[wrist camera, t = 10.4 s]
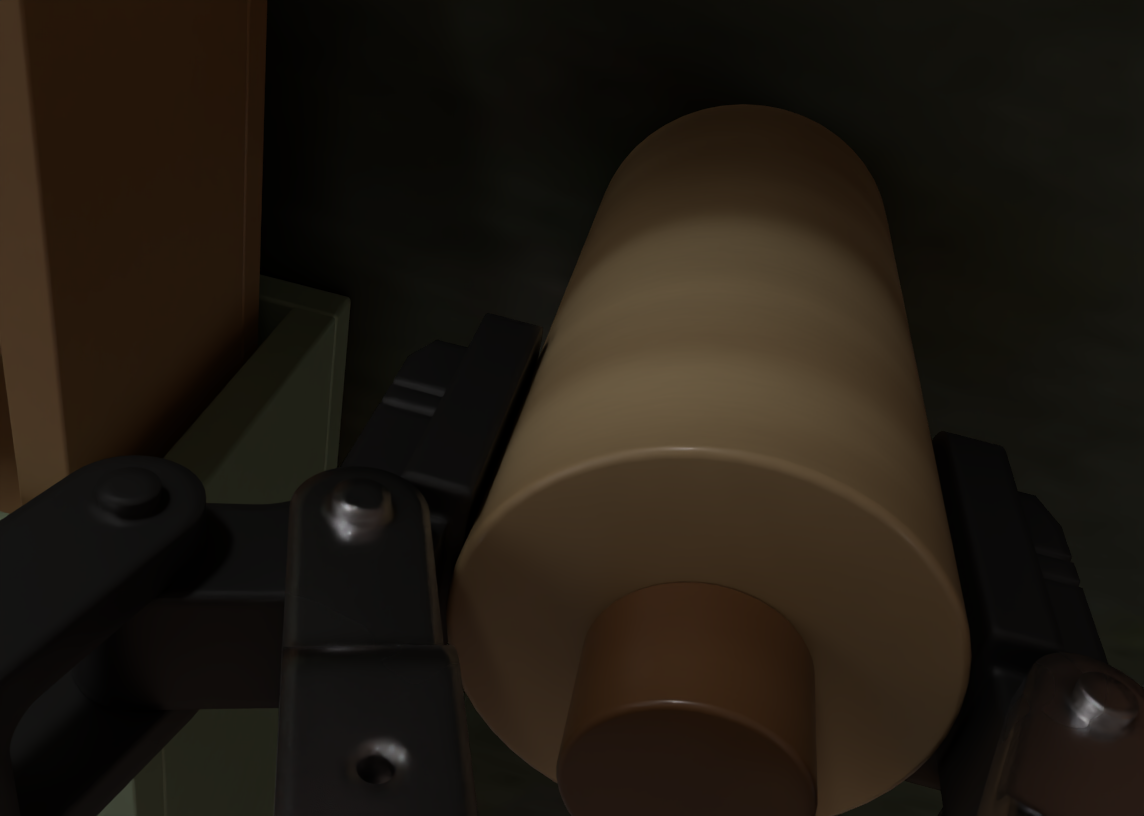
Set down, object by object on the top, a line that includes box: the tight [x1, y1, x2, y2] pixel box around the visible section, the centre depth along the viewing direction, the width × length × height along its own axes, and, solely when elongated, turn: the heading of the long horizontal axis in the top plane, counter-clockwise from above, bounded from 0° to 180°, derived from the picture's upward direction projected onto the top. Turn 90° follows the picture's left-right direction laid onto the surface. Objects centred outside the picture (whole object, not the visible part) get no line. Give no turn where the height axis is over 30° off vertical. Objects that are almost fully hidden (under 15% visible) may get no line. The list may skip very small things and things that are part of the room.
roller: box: [446, 104, 972, 816], centre depth 14 cm, size 5×5×12 cm
